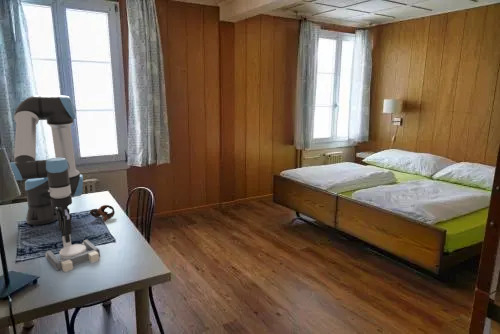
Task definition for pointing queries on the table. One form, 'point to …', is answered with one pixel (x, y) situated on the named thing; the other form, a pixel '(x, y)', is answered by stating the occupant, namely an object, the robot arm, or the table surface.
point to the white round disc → (72, 251)
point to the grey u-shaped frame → (75, 257)
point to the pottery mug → (102, 212)
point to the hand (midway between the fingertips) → (67, 248)
